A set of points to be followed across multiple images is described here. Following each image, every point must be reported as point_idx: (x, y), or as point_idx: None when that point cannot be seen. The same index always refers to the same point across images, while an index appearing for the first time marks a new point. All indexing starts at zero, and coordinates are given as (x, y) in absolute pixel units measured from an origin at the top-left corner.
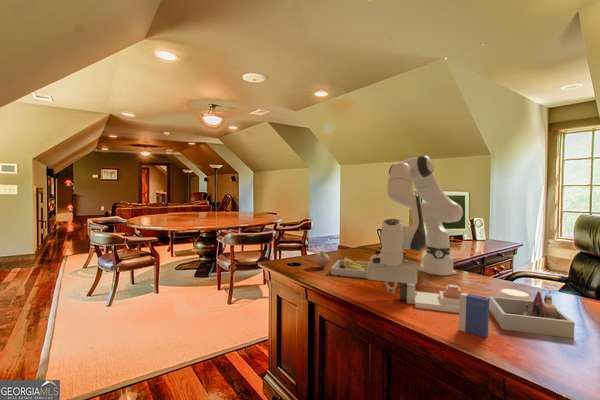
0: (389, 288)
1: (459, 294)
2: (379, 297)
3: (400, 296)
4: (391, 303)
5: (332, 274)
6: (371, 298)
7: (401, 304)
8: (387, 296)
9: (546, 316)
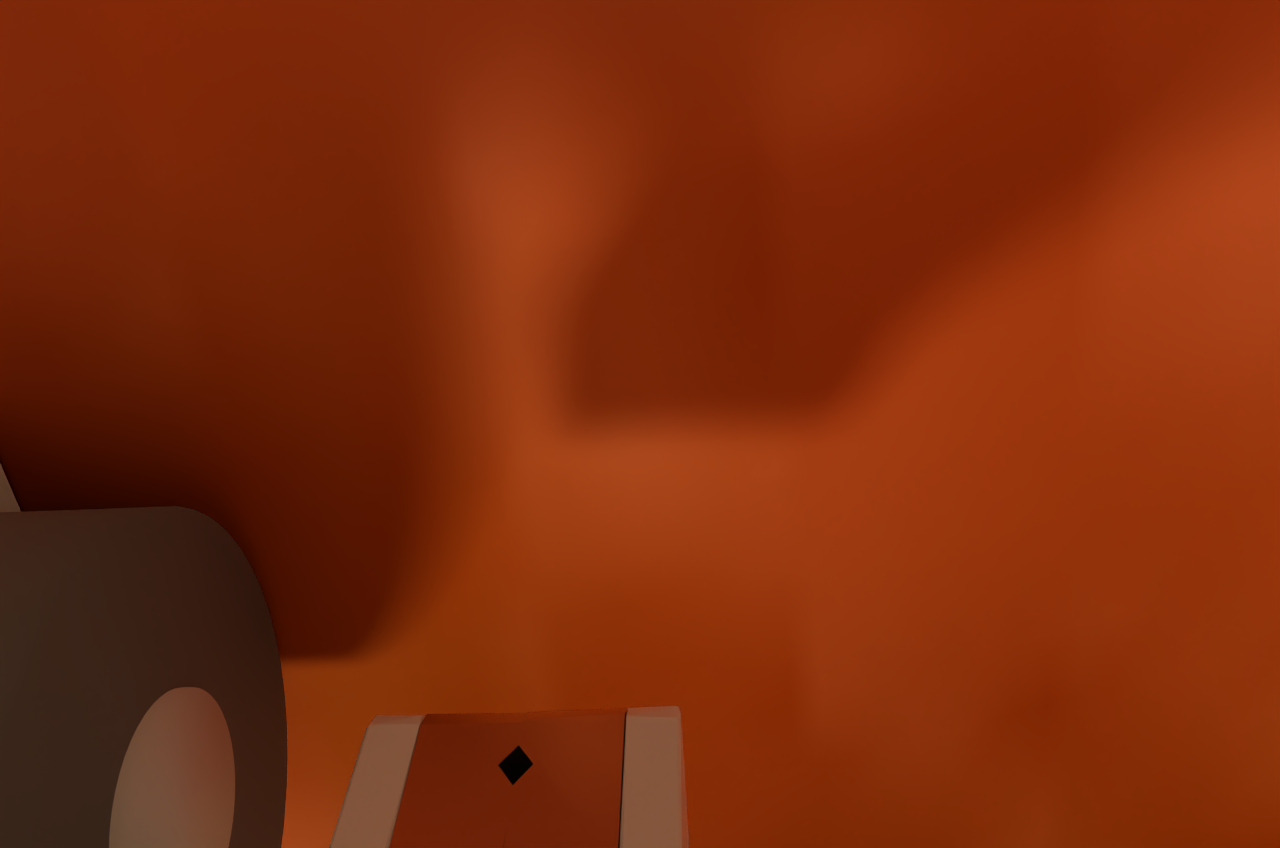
0: (580, 845)
1: None
2: (946, 565)
3: (102, 523)
4: (459, 136)
5: None
6: (1255, 379)
7: (81, 180)
8: (692, 718)
9: None
